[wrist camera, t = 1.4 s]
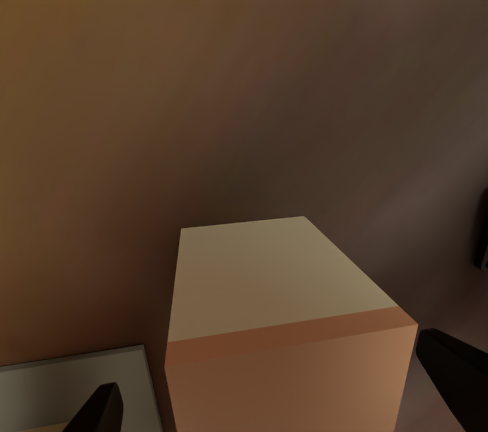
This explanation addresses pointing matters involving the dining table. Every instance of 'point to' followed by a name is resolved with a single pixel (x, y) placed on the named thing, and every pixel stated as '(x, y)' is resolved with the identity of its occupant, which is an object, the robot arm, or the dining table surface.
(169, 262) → the dining table surface
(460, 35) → the dining table surface
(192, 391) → the cream orange-topped box
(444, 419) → the dining table surface
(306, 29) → the dining table surface
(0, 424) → the grey flat square slab
